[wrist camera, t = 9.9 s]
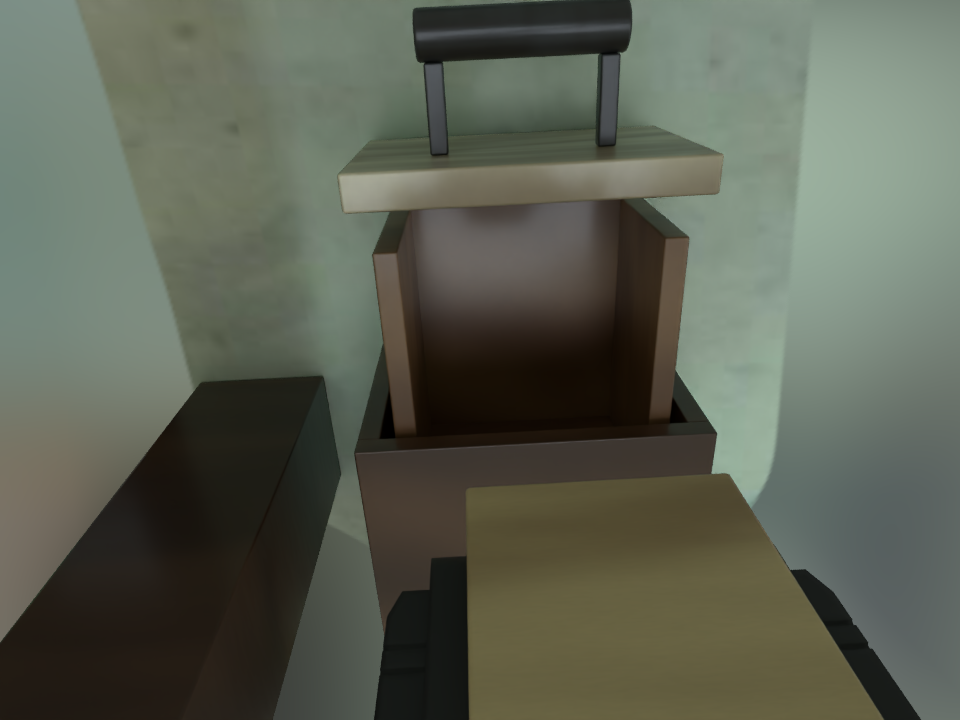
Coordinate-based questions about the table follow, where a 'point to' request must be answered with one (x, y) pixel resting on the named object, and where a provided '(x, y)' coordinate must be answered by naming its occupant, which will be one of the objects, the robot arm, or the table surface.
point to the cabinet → (495, 476)
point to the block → (641, 608)
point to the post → (187, 569)
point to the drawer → (528, 243)
